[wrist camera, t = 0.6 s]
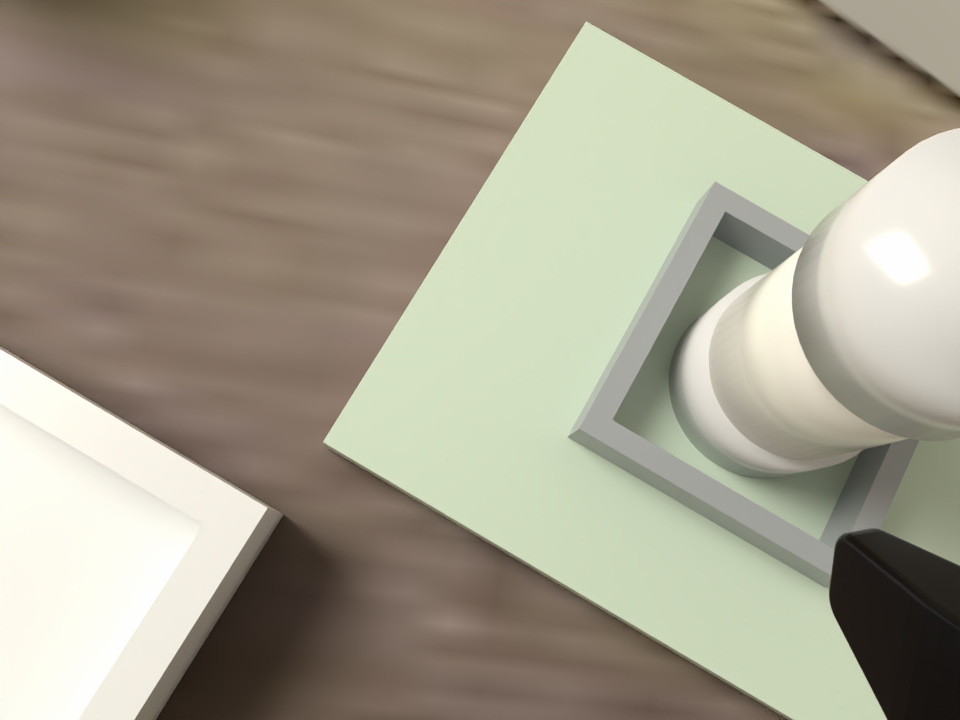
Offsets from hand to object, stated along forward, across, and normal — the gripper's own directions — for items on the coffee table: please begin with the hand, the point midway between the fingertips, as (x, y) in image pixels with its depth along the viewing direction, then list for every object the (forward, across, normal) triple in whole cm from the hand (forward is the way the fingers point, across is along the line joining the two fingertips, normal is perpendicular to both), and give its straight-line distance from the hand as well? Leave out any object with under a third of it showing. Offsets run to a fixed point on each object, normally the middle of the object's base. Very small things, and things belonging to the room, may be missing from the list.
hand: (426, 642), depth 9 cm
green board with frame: (+13, -10, +6) cm, 18 cm away
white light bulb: (+12, -10, +5) cm, 17 cm away
